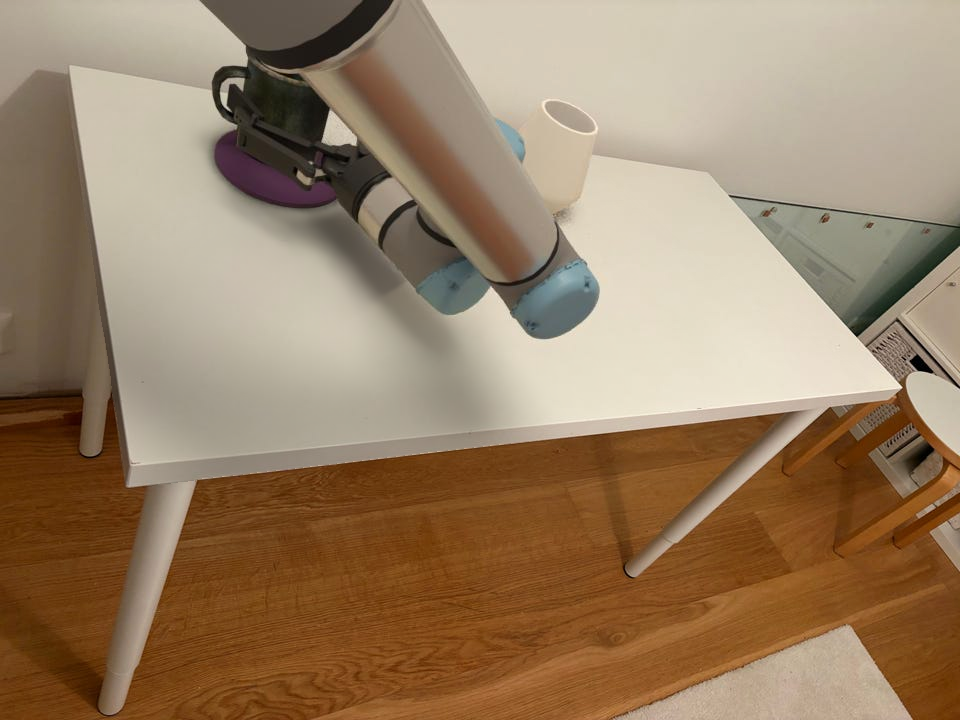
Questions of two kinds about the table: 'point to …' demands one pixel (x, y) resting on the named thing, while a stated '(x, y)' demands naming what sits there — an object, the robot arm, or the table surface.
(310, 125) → the mug
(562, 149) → the cup
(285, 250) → the table surface
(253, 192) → the place mat
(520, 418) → the table surface
